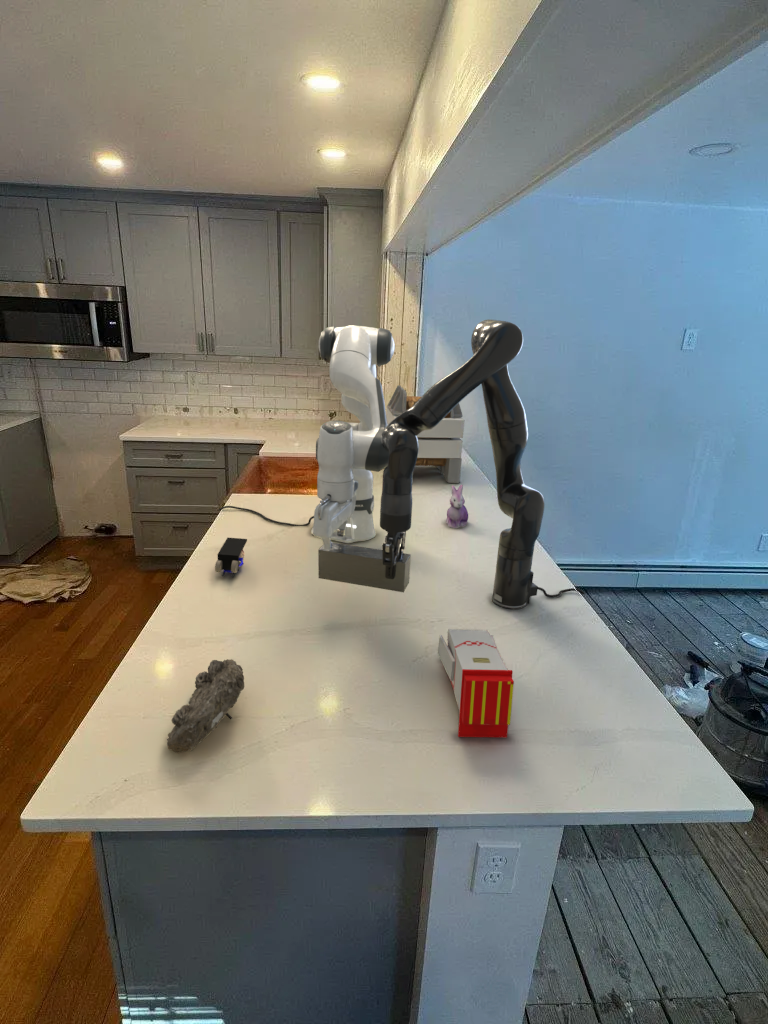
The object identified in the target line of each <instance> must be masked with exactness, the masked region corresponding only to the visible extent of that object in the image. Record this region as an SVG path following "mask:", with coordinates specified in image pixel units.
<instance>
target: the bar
mask: <svg viewBox="0 0 768 1024" xmlns="http://www.w3.org/2000/svg"><path fill="white" fill-rule="evenodd" d="M317 552H318V553H317V556H318V559H317V560H318V561H317V562H318V567H317V568H318V569H317V570H318V579H322V580H326V581H331V582H339V583H344V584H351V585H356V586H363V587H368V588H375V589H381V590H387V591H392V592H399V593H405V591H406V589H407V587H408V586H409V584H410V573H411V571H410V570H411V555H412V554H411V553H405V552H403V553H399V555H398V556H397V557H396V564H395V577H394V579H387V578H386V577H385V570H386V565H383V563H382V562H383V556H382V549H379V548H371V547H366V546H365V547H364V546H359V545H352V544H346V543H340V542H332V548H331V549H330V550H324V548H323V545H321V546H320V547H319V549H318V551H317ZM394 553H395V552H394ZM388 560H391V559H390V558H388Z"/></svg>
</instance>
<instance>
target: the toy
mask: <svg viewBox="0 0 768 1024" xmlns="http://www.w3.org/2000/svg"><path fill="white" fill-rule="evenodd" d="M446 640H447V643H446V641H445V639H444V636H443V635H442V634H439V637H438V646H437V656H438V657H439V659H440V661H441V663H442V666H443V668H444V670H445V672H446V674H447V677H448V679H449V681H450V684H451V687H452V690H453V693H454V697H455V701H456V705H457V708H458V711H459V714H458V715H459V716H458V730H457V731H458V732H457V737H458V738H508V731H509V726H510V725H511V717H512V707H513V697H514V696H513V695H514V684H515V680H514V679H513V673H514V671H513V670H512V669H508V667H507V665H506V662H505V661H504V659H503V658H502V655H501V653H500V651H499V649H498V647H497V643H496V639H495V637H494V635H493V634H491V632H490V631H489V629H467V628H466V629H465V628H463V629H461V628H460V629H459V628H448V630H447V639H446Z"/></svg>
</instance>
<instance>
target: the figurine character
mask: <svg viewBox="0 0 768 1024" xmlns="http://www.w3.org/2000/svg"><path fill="white" fill-rule="evenodd" d="M247 542H248V538H240V537H226V539H225V541H224V543H223V544H222V546H221V547H220V549H219V551H218V552H217V560H216V562H215V564H214V572H215V573H221V577H222V578H224V577H225V576H226V574H227V573H230V574H231V573H232V574H231V578H234V577H235V575H236V573H237V572H239V571H240V567H242V566H243V565H244V564H245V562H244V558H245V551H244V547H245V546H246V544H247Z"/></svg>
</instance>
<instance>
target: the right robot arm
mask: <svg viewBox="0 0 768 1024" xmlns="http://www.w3.org/2000/svg"><path fill="white" fill-rule="evenodd" d="M470 340H471V341H470V342H471V343H470V345H471V350H472V354H473V355H472V357H470V358H469V359H468V360H467V361H465V363H464V364H462V365H461V366H460V367H458V368H457V369H455V370H454V371H452V372H450V373H449V374H447V375H446V376H445V377H442V378H441V379H440V380H438V381H437V382H435V383H434V384H433V385H432V386H430V387H429V388H428V389H427V390H426V391H425V393H424V394H422V395H421V396H420V397H421V398H420V399H419V400H418V401H417V402H416V403H415V404H414V405H413V406H412V407H411V408H409V409H408V410H406V411H405V412H403V413H402V414H401V415H399V416H398V417H396V418H395V419H394V420H393V421H391V422H390V423H389V424H388V425H387V426H386V428H385V429H384V430H383V432H382V435H381V444H382V446H383V448H384V449H385V450H386V451H388V452H389V460H388V466H387V467H385V468H384V469H383V472H382V482H381V483H382V487H381V496H380V511H379V527H380V528H381V530H383V531H385V532H386V533H387V534H386V535H385V537H384V542H383V543H382V546H381V548H382V549H381V550H382V556H383V562H382V563H383V565H386V570H385V577H386V578H387V579H394V577H395V564H396V557H397V556H398V555H399V553H404V550H405V549H406V538H407V537H406V536H407V531H409V530H410V529H411V528H412V515H413V475H414V471H415V467H416V466H415V464H416V460H417V456H418V449H419V445H418V438H417V435H418V434H420V433H421V432H422V431H424V430H431V429H433V428H434V427H435V426H436V425H437V424H438V423H439V422H440V421H441V420H442V419H443V418H444V417H445V416H446V415H447V414H448V413H449V412H450V411H451V410H452V409H453V408H454V407H455V406H456V405H457V404H458V403H459V404H460V403H461V402H462V401H463V400H464V399H465V398H466V397H467V396H468V395H469V394H470V393H472V392H473V391H474V390H475V389H477V388H478V387H479V386H481V389H482V396H483V403H484V409H485V414H486V421H487V428H488V433H489V439H490V444H491V449H492V457H493V463H494V467H495V477H496V496H497V497H496V498H497V504H498V507H499V509H500V511H501V512H502V513H503V514H504V515H506V516H507V517H509V518H511V519H512V523H511V527H509V528H505V529H503V530H501V532H500V533H499V539H498V547H497V556H496V565H495V573H494V581H493V589H492V594H491V600H492V602H493V603H494V604H495V605H496V606H499V607H500V608H504V609H508V610H509V609H510V610H520V609H522V608H525V607H526V606H527V605H529V604H530V601H531V597H536V596H538V590H539V591H541V592H542V593H543V595H544V596H545V597H546V598H558V597H561V595H562V594H563V593H567V592H578V593H580V594H581V595H585V592H584V591H583V589H580V588H576V587H575V589H576V590H577V591H576V590H575V589H574V587H573V588H566V589H561V590H559V592H558V593H556V594H548V593H547V591H546V590H545V589H544V588H543V587H540V586H538V585H536V583H534V581H533V580H534V572H533V571H532V565H533V559H534V550H535V544H536V541H537V540H538V538H539V535H540V531H541V528H542V522H543V517H544V513H545V498H544V495H543V494H542V493H541V492H540V491H538V490H537V489H535V488H533V487H530V486H529V485H526V484H525V482H524V478H523V474H522V473H523V472H522V465H521V463H522V458H523V455H524V453H525V450H526V448H527V445H528V442H529V429H528V422H527V415H526V410H525V407H524V405H523V403H522V400H521V398H520V396H519V394H518V393H517V390H516V388H515V386H514V384H513V382H512V380H511V376H510V373H509V367H508V364H510V362H512V361H513V360H514V359H516V357H518V355H519V354H520V352H521V350H522V348H523V344H524V336H523V331H522V330H521V328H520V327H519V326H518V325H517V324H515V323H513V322H511V321H507V320H499V319H492V318H491V319H484V320H481V321H480V322H478V323H477V324H476V326H475V327H474V329H473V330H472V334H471V339H470ZM394 552H395V553H394ZM388 558H390V559H391V560H388Z"/></svg>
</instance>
